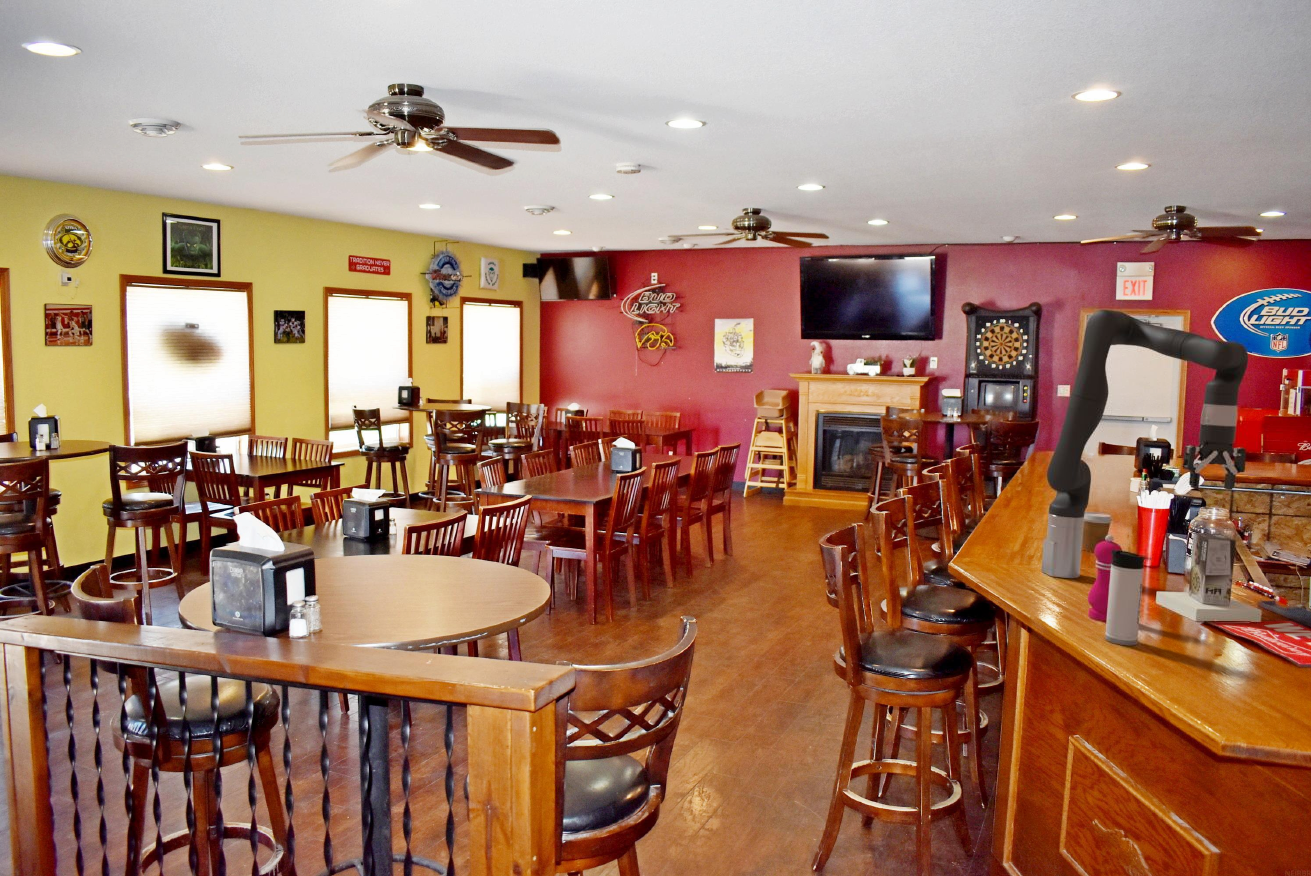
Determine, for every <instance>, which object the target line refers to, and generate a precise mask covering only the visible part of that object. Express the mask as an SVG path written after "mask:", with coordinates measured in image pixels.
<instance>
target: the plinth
mask: <svg viewBox="0 0 1311 876" xmlns="http://www.w3.org/2000/svg"><path fill="white" fill-rule="evenodd" d="M1155 604H1157V605H1159V606H1161V607H1164V608H1165V609H1167V610H1170V611H1172V612H1174V613H1177V614H1178V615H1181V616H1183V617H1186V618H1188V619H1190V620H1192V621H1195V622H1204V621H1215V620H1217V621H1251V622H1261V621H1262V609H1260V608H1257V607H1255V606H1252V605H1249V604H1247V603H1245V602H1241V601H1239V600H1236V599H1234V598H1231V597H1230V606H1224V605H1213V604H1203V603H1201V602H1199V601H1198V600H1196V599H1194V598H1193V597H1191V596H1189V591H1156V597H1155Z"/></svg>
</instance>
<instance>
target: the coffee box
mask: <svg viewBox="0 0 1311 876" xmlns="http://www.w3.org/2000/svg"><path fill="white" fill-rule="evenodd" d="M1236 545H1237V540H1235V539H1234V538H1231V537H1228V536H1226V535H1223V534H1221V533H1214V532H1213V533H1207V532H1203V533H1202V532H1193V535H1192V546H1191V547H1192V548H1191V559H1190V574H1189V585H1188V592H1189V596H1191V597H1193V598H1194V599H1196V600H1198V601H1199V602H1201V603H1203V604H1213V605H1224V606H1230V598H1231V597H1232V596H1231V595H1232V587H1233V586H1232V585H1233V574H1234V565H1235V563H1234V562H1235V554H1236Z"/></svg>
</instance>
